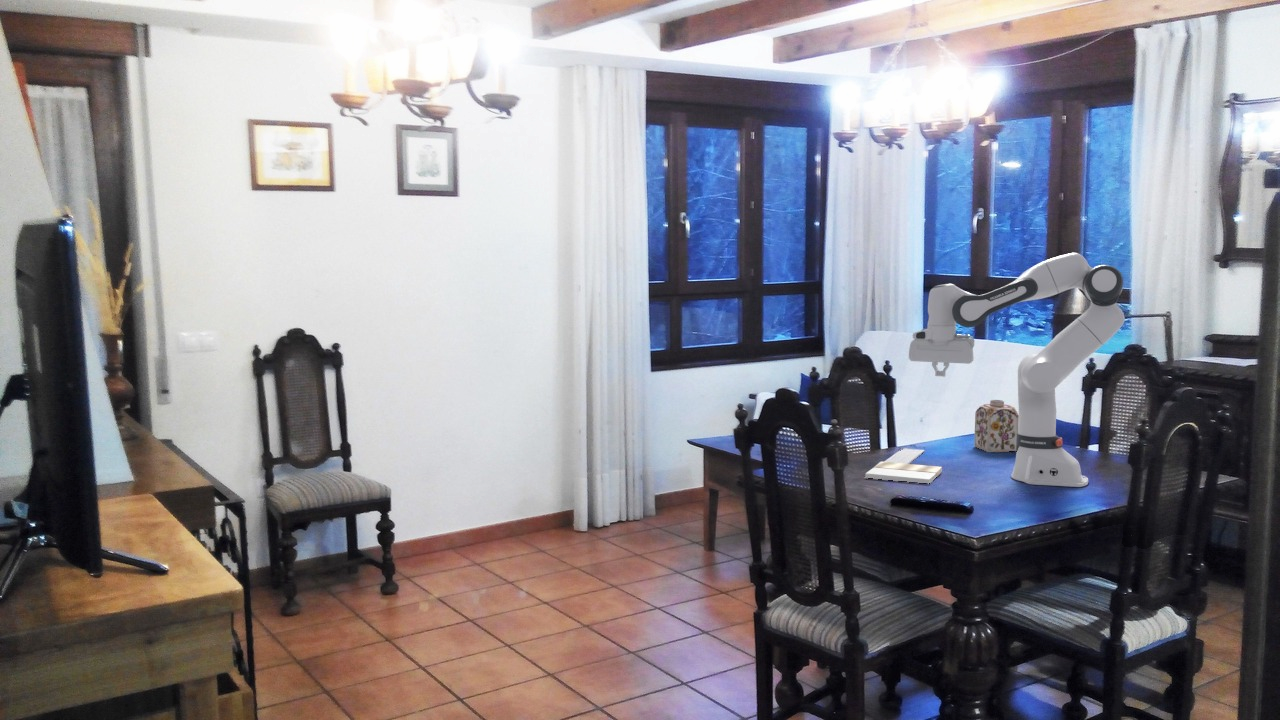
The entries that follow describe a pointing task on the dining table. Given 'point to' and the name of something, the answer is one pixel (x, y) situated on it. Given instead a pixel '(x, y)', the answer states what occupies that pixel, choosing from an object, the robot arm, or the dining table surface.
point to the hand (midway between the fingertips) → (940, 376)
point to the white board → (900, 475)
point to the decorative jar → (996, 427)
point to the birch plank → (910, 467)
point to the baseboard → (905, 455)
